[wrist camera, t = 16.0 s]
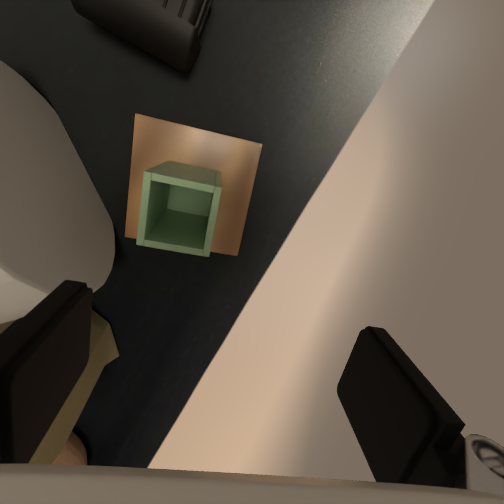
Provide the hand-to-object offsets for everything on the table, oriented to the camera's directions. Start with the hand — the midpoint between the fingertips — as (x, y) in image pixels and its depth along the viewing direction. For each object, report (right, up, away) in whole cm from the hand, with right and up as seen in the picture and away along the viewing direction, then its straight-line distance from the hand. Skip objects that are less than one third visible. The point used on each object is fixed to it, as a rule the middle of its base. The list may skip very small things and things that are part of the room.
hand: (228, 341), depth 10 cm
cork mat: (-6, +10, +25) cm, 28 cm away
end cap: (-9, +26, +19) cm, 33 cm away
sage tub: (-6, +10, +25) cm, 27 cm away
